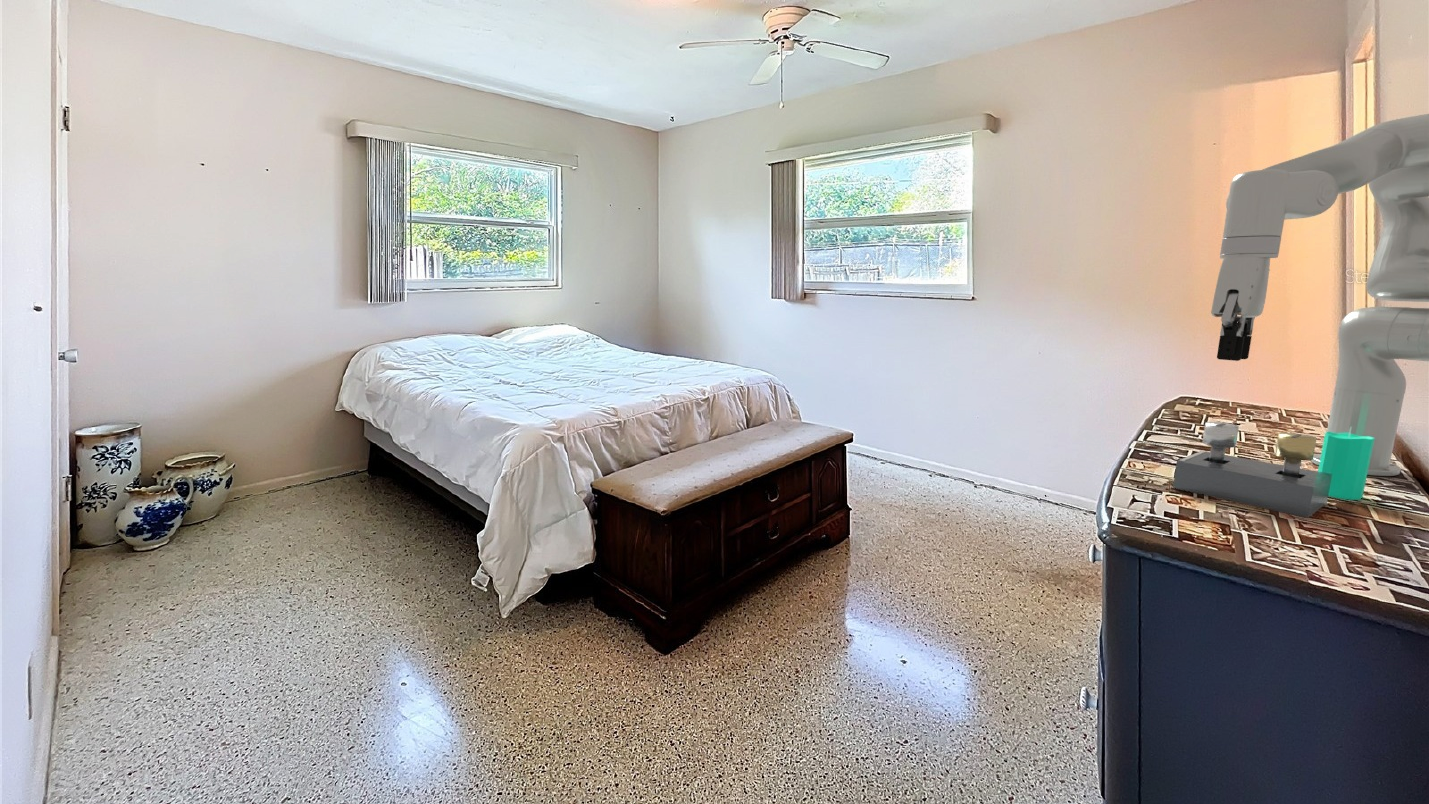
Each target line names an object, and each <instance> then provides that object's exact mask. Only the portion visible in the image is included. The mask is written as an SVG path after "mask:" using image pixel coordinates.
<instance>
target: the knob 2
mask: <svg viewBox="0 0 1429 804" xmlns="http://www.w3.org/2000/svg"><path fill="white" fill-rule="evenodd" d="M1276 441H1277V442H1276V446H1275V452H1274V455H1275V456H1277V457H1280V458H1284V462H1283V465H1284V467H1283V472H1282V475H1285V476H1290V477H1296V478H1298V476H1299V471H1300V468H1301V466H1302V465H1301V464H1302V461H1311V460H1313V456H1314V455H1315V449H1316V444H1317V437H1316V436H1313V435H1309V434H1303V433H1298V432H1297V433H1295V432H1279V433H1278V436H1277V440H1276Z"/></svg>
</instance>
